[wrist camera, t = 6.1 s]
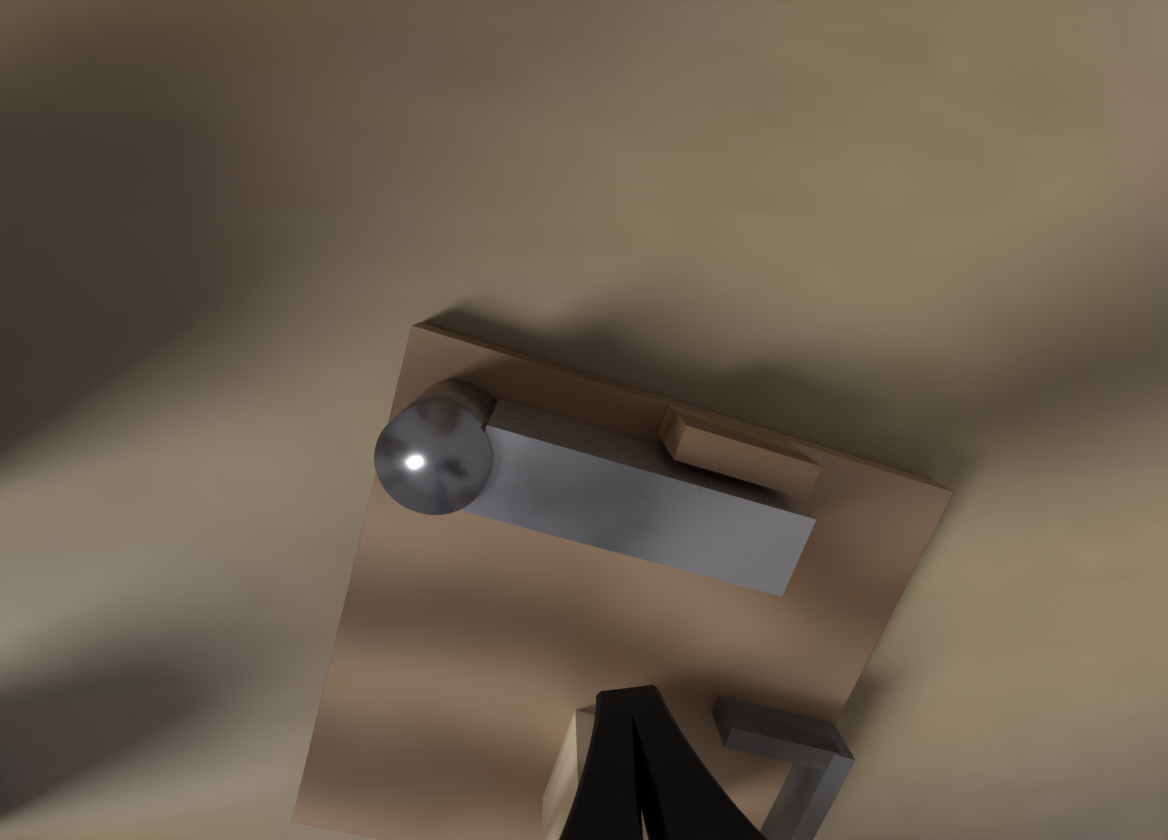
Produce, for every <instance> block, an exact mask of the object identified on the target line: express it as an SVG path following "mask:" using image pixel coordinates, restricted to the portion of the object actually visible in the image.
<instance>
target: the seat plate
mask: <svg viewBox="0 0 1168 840" xmlns="http://www.w3.org/2000/svg"><path fill="white" fill-rule="evenodd" d="M447 380H463V381H467V382H470V383H473V384H475V385H477V386H479V387H481V388H482V389H484V390H485V391H487V392H488V393H489V394H490V395H491V396H492V397H493V399H494V400H495V401H496V403H497V402H498V400H499V399H503V400H506V401H510V402H513V403H516V404H520V405H523V406H527V407H530V408H533V409H537V410H540V411H544V412H547V413H550V414H554V415H557V416H561V417H564V418H567V419H571V420H574V421H578V422H581V423H584V424H588V425H591V426H595V427H598V428H602V429H605V430H608V431H612V432H615V433H619V434H622V435H625V436H629V437H632V438H636V439H639V440H642V441H646V442H649V443H653V444H656V445H659V446H663V447H666V448H667V450H668V451H669V453H670V455H671V456H672V458H673V460H677V461H680V462H683V463H687V464H690V465H693V466H697V467H700V468H704V469H707V470H710V471H714V472H717V473H721V474H724V475H727V476H731V477H734V478H738V479H741V480H744V481H748V482H751V483H754V484H758V485H761V486H765V487H768V488H771V489H775V490H778V491H782V492H785V493H788V494H790V495H791V496H792V497H793V498H794V499H795V500H797V501H798V502H799V503H800V504H801V505H802V506H803V507H804V508H805V509H806V510H807V511H808V512H809V513H810V514H811V515H812V516H813V517H814V518H815V519H816V522H815V524H814V526H813V528H812V531H811V533H810V535H809V537H808V540H807V542H806V544H805V546H804V549H803V551H802V553H801V555H800V557H799V560H798V562H797V564H796V566H795V569H794V571H793V573H792V575H791V577H790V580H789V582H788V584H787V586H786V589H785V591H784V593H783V595H782V597H781V596H777V595H774V594H770V593H766V592H762V591H759V590H755V589H751V588H747V587H744V586H740V585H736V584H732V583H729V582H725V581H721V580H717V579H714V578H710V577H706V576H702V575H699V574H695V573H691V572H687V571H684V570H680V569H676V568H672V567H669V566H665V565H661V564H657V563H654V562H650V561H646V560H642V559H639V558H635V557H631V556H627V555H624V554H620V553H616V552H612V551H609V550H605V549H601V548H597V547H594V546H590V545H586V544H582V543H579V542H575V541H571V540H567V539H564V538H560V537H556V536H552V535H549V534H545V533H541V532H538V531H534V530H530V529H526V528H523V527H519V526H515V525H511V524H508V523H504V522H500V521H496V520H493V519H489V518H485V517H481V516H478V515H474V514H470V513H466V512H463V509H461V510H458V511H456V512H453V513H449V514H444V515H426V514H421V513H418V512H415V511H412V510H410V509H407V508H405V507H404V506H402V505H400V504H399V503H398V502H396V501H395V500H394V499H393V498H392V497H391V496H390V495H389V494H388V493H387V492H386V490H385V489H384V488H383V486H382V484H381V483H380V481H379V478H378V476H377V473H376V475H375V479H374V484H373V488H372V492H371V496H370V500H369V504H368V508H367V512H366V517H365V521H364V525H363V529H362V533H361V537H360V541H359V545H358V550H357V554H356V558H355V562H354V566H353V570H352V574H351V578H350V583H349V587H348V591H347V595H346V599H345V603H344V607H343V611H342V616H341V620H340V624H339V628H338V632H337V636H336V640H335V644H334V649H333V653H332V657H331V661H330V665H329V669H328V673H327V677H326V682H325V686H324V690H323V694H322V698H321V702H320V706H319V710H318V715H317V719H316V723H315V727H314V731H313V735H312V739H311V743H310V748H309V752H308V756H307V760H306V764H305V768H304V772H303V777H302V781H301V785H300V789H299V793H298V797H297V801H296V805H295V810H294V814H293V818H292V822H294V823H300V824H305V825H310V826H315V827H320V828H325V829H330V830H335V831H340V832H345V833H350V834H356V835H361V836H366V837H371V838H376V839H381V840H542V809H543V795H544V792H545V790H546V787H547V784H548V782H549V779H550V776H551V774H552V771H553V768H554V766H555V763H556V760H557V758H558V755H559V752H560V749H561V747H562V744H563V741H564V739H565V736H566V733H567V731H568V728H569V725H570V723H571V720H572V717H573V715H574V712H575V710H576V711H581V712H585V713H589V714H594V715H595V710H596V695H597V694H598V693H599V692H600V691H606V690H614V689H622V688H630V687H638V686H646V685H654V686H656V687H657V688H658V689H659V691H660V694H661V696H662V698H663V700H664V702H665V704H666V706H667V708H668V710H669V711H670V713H671V715H672V717H673V718H674V720H675V722H676V723H677V725H678V727H679V728H680V730H681V732H682V733H683V735H684V736H685V738H686V739H687V741H688V742H689V744H690V745H691V747H692V748H693V749H694V751H695V752H696V754H697V755H698V757H699V758H700V760H701V761H702V762H703V764H704V765H705V767H706V768H707V769H708V771H709V772H710V773H711V775H712V776H713V777H714V778H715V780H716V781H717V782H718V784H719V785H720V786H721V787H722V789H723V790H724V791H725V792H726V794H727V795H728V796H729V797H730V799H731V800H732V801H733V802H734V803H735V805H736V806H737V807H738V808H739V809H740V810H741V812H742V813H743V814H744V815H745V816H746V817H747V818H748V819H749V820H750V821H751V823H752V824H753V825H754V826H755V827H756V828H757V829H758V830H759V831H760V832H761V833H762V834H763V835H764V836H765V837H766V839H767V840H813V838H814V837H815V835H816V833H817V831H818V829H819V827H820V825H821V823H822V821H823V820H824V818H825V816H826V814H827V812H828V810H829V808H830V806H831V805H832V803H833V801H834V799H835V797H836V795H837V793H838V791H839V789H840V788H841V786H842V784H843V782H844V780H845V778H846V776H847V774H848V773H849V771H850V769H851V767H852V765H853V763H854V761H855V759H854V757H853V755H852V754H851V752H850V750H849V749H848V747H847V745H846V744H845V742H844V740H843V739H842V737H841V736H840V734H839V732H838V731H837V729H836V727H835V726H834V725H835V724H836V722H837V720H838V718H839V716H840V714H841V712H842V710H843V708H844V706H845V704H846V702H847V700H848V698H849V696H850V694H851V692H852V690H853V688H854V686H855V684H856V682H857V680H858V679H859V677H860V675H861V673H862V671H863V669H864V667H865V665H866V663H867V661H868V659H869V657H870V655H871V653H872V651H873V649H874V647H875V645H876V643H877V641H878V639H879V637H880V635H881V634H882V632H883V630H884V628H885V626H886V624H887V622H888V620H889V618H890V616H891V614H892V612H893V610H894V608H895V606H896V604H897V602H898V600H899V598H900V596H901V594H902V592H903V591H904V589H905V587H906V585H907V583H908V581H909V579H910V577H911V575H912V573H913V571H914V569H915V567H916V565H917V563H918V561H919V559H920V557H921V555H922V553H923V551H924V549H925V547H926V546H927V544H928V542H929V540H930V538H931V536H932V534H933V532H934V530H935V528H936V526H937V524H938V522H939V520H940V518H941V516H942V514H943V512H944V510H945V508H946V506H947V504H948V502H949V501H950V499H951V497H952V495H953V493H954V492H953V491H951V490H949V489H947V488H946V487H944V486H942V485H940V484H938V483H937V482H935V481H933V480H931V479H929V478H925V477H922V476H919V475H916V474H913V473H909V472H906V471H903V470H900V469H896V468H893V467H890V466H887V465H883V464H880V463H877V462H874V461H870V460H867V459H864V458H861V457H857V456H854V455H851V454H848V453H845V452H841V451H838V450H835V449H832V448H828V447H825V446H822V445H819V444H815V443H812V442H809V441H806V440H802V439H799V438H796V437H793V436H789V435H786V434H783V433H780V432H777V431H773V430H770V429H767V428H764V427H760V426H757V425H754V424H751V423H747V422H744V421H741V420H738V419H734V418H731V417H728V416H725V415H721V414H718V413H715V412H712V411H709V410H705V409H702V408H699V407H696V406H692V405H689V404H686V403H683V402H679V401H676V400H673V399H670V398H666V397H663V396H660V395H657V394H653V393H650V392H647V391H644V390H641V389H637V388H634V387H631V386H628V385H624V384H621V383H618V382H615V381H611V380H608V379H605V378H602V377H598V376H595V375H592V374H589V373H585V372H582V371H579V370H576V369H573V368H569V367H566V366H563V365H560V364H556V363H553V362H550V361H547V360H543V359H540V358H537V357H534V356H530V355H527V354H524V353H521V352H518V351H514V350H511V349H508V348H505V347H501V346H498V345H495V344H492V343H488V342H485V341H482V340H479V339H475V338H472V337H469V336H466V335H462V334H459V333H456V332H453V331H450V330H446V329H443V328H440V327H437V326H433V325H430V324H427V323H424V322H420V323H417V324H414V325H412V327H411V331H410V335H409V339H408V343H407V347H406V352H405V356H404V360H403V364H402V368H401V372H400V376H399V380H398V385H397V389H396V393H395V397H394V401H393V405H392V409H391V413H390V418H389V422H390V421H391V420H392V419H394V418H395V417H396V416H397V415H398V414H399V413H400V412H401V411H403V410H404V409H405V408H406V407H407V406H408V405H409V404H410V403H411V402H413V401H414V400H415V399H416V398H417V397H418V396H419V395H420V394H421V393H423V392H424V391H425V390H426V389H427V388H429V387H431V386H432V385H434V384H436V383H439V382H442V381H447ZM389 422H388V423H389Z"/></svg>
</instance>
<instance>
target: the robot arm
mask: <svg viewBox="0 0 1168 840" xmlns="http://www.w3.org/2000/svg"><path fill="white" fill-rule="evenodd" d="M641 810H642V812H641ZM642 815H643V819H644V823H645V827H646V832H647V836H648V840H767V839H766V837H765V836H764V835H763V834H762V833H761V832H760V831H759V830H758V829H757V828H756V827H755V826H754V825H753V824H752V823H751V821H750V820H749V819H748V818H747V817H746V816H745V815H744V814H743V813H742V812H741V810H740V809H739V808H738V807H737V806H736V805H735V803H734V802H733V801H732V800H731V799H730V797H729V796H728V795H727V794H726V792H725V791H724V790H723V789H722V787H721V786H720V785H719V784H718V782H717V781H716V780H715V778H714V777H713V776H712V775H711V773H710V772H709V771H708V769H707V768H706V767H705V765H704V764H703V762H702V761H701V760H700V758H699V757H698V755H697V754H696V752H695V751H694V749H693V748H692V747H691V745H690V744H689V742H688V741H687V739H686V738H685V736H684V735H683V733H682V732H681V730H680V728H679V727H678V725H677V723H676V722H675V720H674V718H673V717H672V715H671V713H670V711H669V710H668V708H667V706H666V704H665V702H664V700H663V698H662V696H661V694H660V691H659V689H658V688H657V687H656V686H654V685H646V686H638V687H630V688H622V689H614V690H606V691H600V692H599V693H598V694H597V695H596V710H595V719H594V725H593V731H592V736H591V741H590V745H589V749H588V753H587V757H586V761H585V765H584V769H583V772H582V776H581V779H580V782H579V785H578V788H577V791H576V795H575V798H574V801H573V804H572V807H571V810H570V812H569V815H568V818H567V821H566V823H565V826H564V828H563V831H562V833H561V836H560V838H559V840H643V827H642Z"/></svg>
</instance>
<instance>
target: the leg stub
mask: <svg viewBox="0 0 1168 840" xmlns="http://www.w3.org/2000/svg"><path fill="white" fill-rule="evenodd" d="M594 719H595V715H594V714H589V713H585V712H581V711H576V710H575V712H574V715H573V717H572V720H571V723H570V725H569V728H568V731H567V733H566V736H565V739H564V741H563V744H562V747H561V749H560V752H559V755H558V758H557V760H556V763H555V766H554V768H553V771H552V774H551V776H550V779H549V782H548V784H547V787H546V790H545V792H544V795H543V809H542V840H559V838H560V836H561V833H562V831H563V828H564V826H565V823H566V821H567V818H568V815H569V812H570V810H571V807H572V804H573V801H574V798H575V795H576V791H577V788H578V785H579V782H580V779H581V776H582V772H583V769H584V765H585V761H586V757H587V753H588V749H589V745H590V741H591V736H592V731H593V725H594ZM641 812H642V810H641ZM642 827H643V840H648V836H647V832H646V827H645V823H644V819H643V815H642Z"/></svg>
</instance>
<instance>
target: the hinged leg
mask: <svg viewBox="0 0 1168 840" xmlns="http://www.w3.org/2000/svg"><path fill="white" fill-rule="evenodd" d="M374 462H375V469H376V473H377V476H378V478H379V481H380V483H381V484H382V486H383V488H384V489H385V490H386V492H387V493H388V494H389V495H390V496H391V497H392V498H393V499H394V500H395V501H396V502H398V503H399V504H400V505H402V506H404V507H405V508H407V509H410V510H412V511H415V512H418V513H421V514H426V515H444V514H449V513H453V512H456V511H458V510H461V509H463V512H466V513H470V514H474V515H478V516H481V517H485V518H489V519H493V520H496V521H500V522H504V523H508V524H511V525H515V526H519V527H523V528H526V529H530V530H534V531H538V532H541V533H545V534H549V535H552V536H556V537H560V538H564V539H567V540H571V541H575V542H579V543H582V544H586V545H590V546H594V547H597V548H601V549H605V550H609V551H612V552H616V553H620V554H624V555H627V556H631V557H635V558H639V559H642V560H646V561H650V562H654V563H657V564H661V565H665V566H669V567H672V568H676V569H680V570H684V571H687V572H691V573H695V574H699V575H702V576H706V577H710V578H714V579H717V580H721V581H725V582H729V583H732V584H736V585H740V586H744V587H747V588H751V589H755V590H759V591H762V592H766V593H770V594H774V595H777V596H781V597H782V595H783V593H784V591H785V589H786V586H787V584H788V582H789V580H790V577H791V575H792V573H793V571H794V569H795V566H796V564H797V562H798V560H799V557H800V555H801V553H802V551H803V549H804V546H805V544H806V542H807V540H808V537H809V535H810V533H811V531H812V528H813V526H814V524H815V522H816V519H815V518H814V517H813V516H812V515H811V514H810V513H809V512H808V511H807V510H806V509H805V508H804V507H803V506H802V505H801V504H800V503H799V502H798V501H797V500H795V499H794V498H793V497H792V496H791V495H790V494H788V493H785V492H782V491H778V490H775V489H771V488H768V487H765V486H761V485H758V484H754V483H751V482H748V481H744V480H741V479H738V478H734V477H731V476H727V475H724V474H721V473H717V472H714V471H710V470H707V469H704V468H700V467H697V466H693V465H690V464H687V463H683V462H680V461H677V460H673V458H672V456H671V455H670V453H669V451H668V450H667V448H666V447H663V446H659V445H656V444H653V443H649V442H646V441H642V440H639V439H636V438H632V437H629V436H625V435H622V434H619V433H615V432H612V431H608V430H605V429H602V428H598V427H595V426H591V425H588V424H584V423H581V422H578V421H574V420H571V419H567V418H564V417H561V416H557V415H554V414H550V413H547V412H544V411H540V410H537V409H533V408H530V407H527V406H523V405H520V404H516V403H513V402H510V401H506V400H503V399H499V400H498V402H497V403H496V401H495V400H494V399H493V397H492V396H491V395H490V394H489V393H488V392H487V391H485V390H484V389H482V388H481V387H479V386H477V385H475V384H473V383H470V382H467V381H463V380H447V381H442V382H439V383H436V384H434V385H432V386H431V387H429V388H427V389H426V390H425V391H424V392H423V393H421V394H420V395H419V396H418V397H417V398H416V399H415V400H414V401H413V402H411V403H410V404H409V405H408V406H407V407H406V408H405V409H404V410H403V411H401V412H400V413H399V414H398V415H397V416H396V417H395V418H394V419H392V420H391V421H390V422H389V423H388V424H387V426H386V427H385V428H384V429H383V431H382V432H381V434H380V436H379V438H378V441H377V444H376V447H375V454H374Z"/></svg>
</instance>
